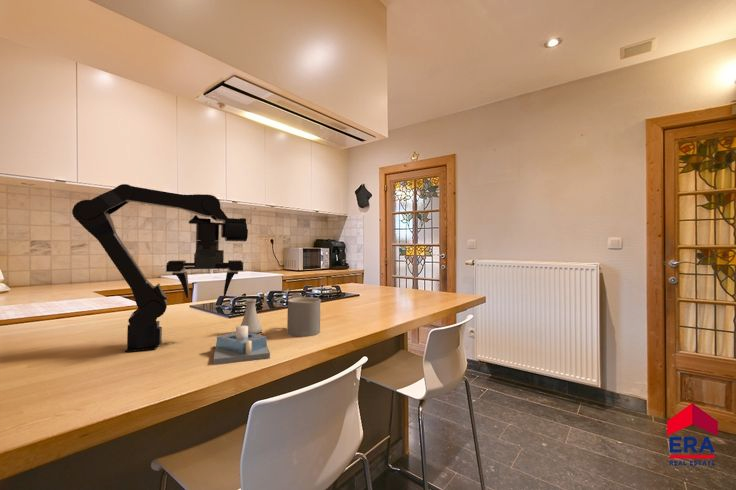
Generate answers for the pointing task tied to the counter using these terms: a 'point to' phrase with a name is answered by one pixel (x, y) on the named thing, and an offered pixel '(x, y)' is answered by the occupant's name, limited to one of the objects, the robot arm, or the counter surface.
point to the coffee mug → (303, 317)
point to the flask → (251, 317)
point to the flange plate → (241, 342)
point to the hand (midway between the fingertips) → (206, 296)
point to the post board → (228, 356)
